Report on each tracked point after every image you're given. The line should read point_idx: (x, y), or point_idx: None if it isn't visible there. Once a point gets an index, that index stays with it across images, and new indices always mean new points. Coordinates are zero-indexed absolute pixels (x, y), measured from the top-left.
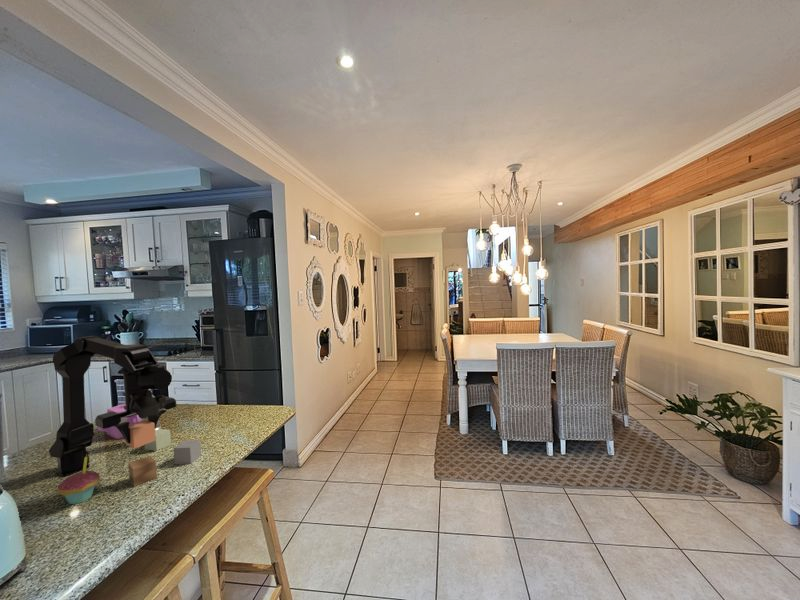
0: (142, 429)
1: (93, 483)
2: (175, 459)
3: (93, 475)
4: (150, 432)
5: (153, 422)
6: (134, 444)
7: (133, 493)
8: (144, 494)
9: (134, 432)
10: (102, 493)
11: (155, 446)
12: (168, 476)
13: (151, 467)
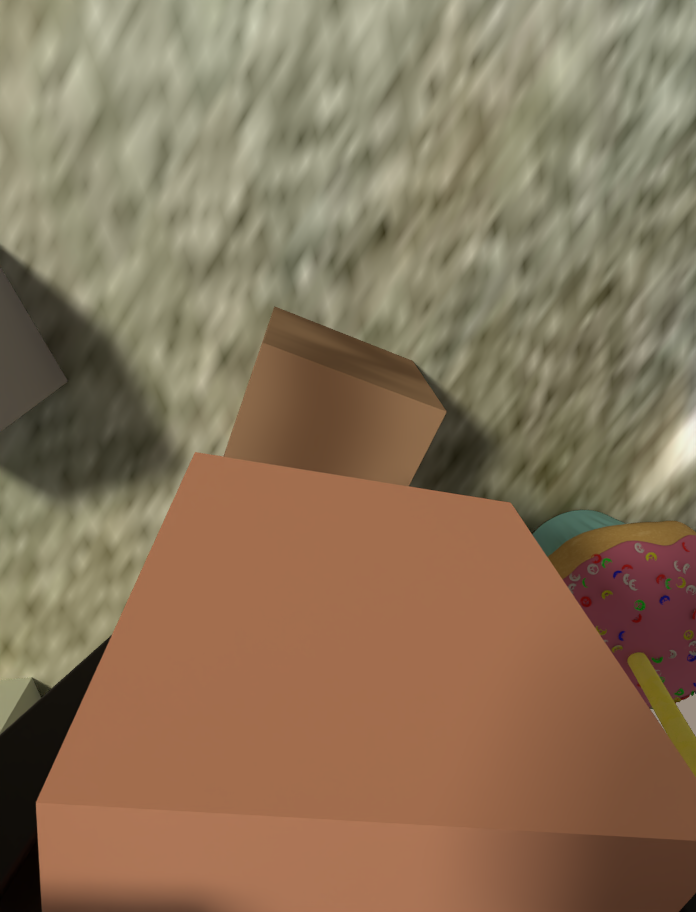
0: (450, 733)
1: (620, 533)
2: (41, 384)
3: (613, 593)
4: (249, 583)
5: (8, 871)
6: (531, 537)
7: (479, 278)
8: (476, 162)
9: (639, 742)
10: (509, 493)
11: (16, 714)
12: (216, 232)
13: (304, 344)
